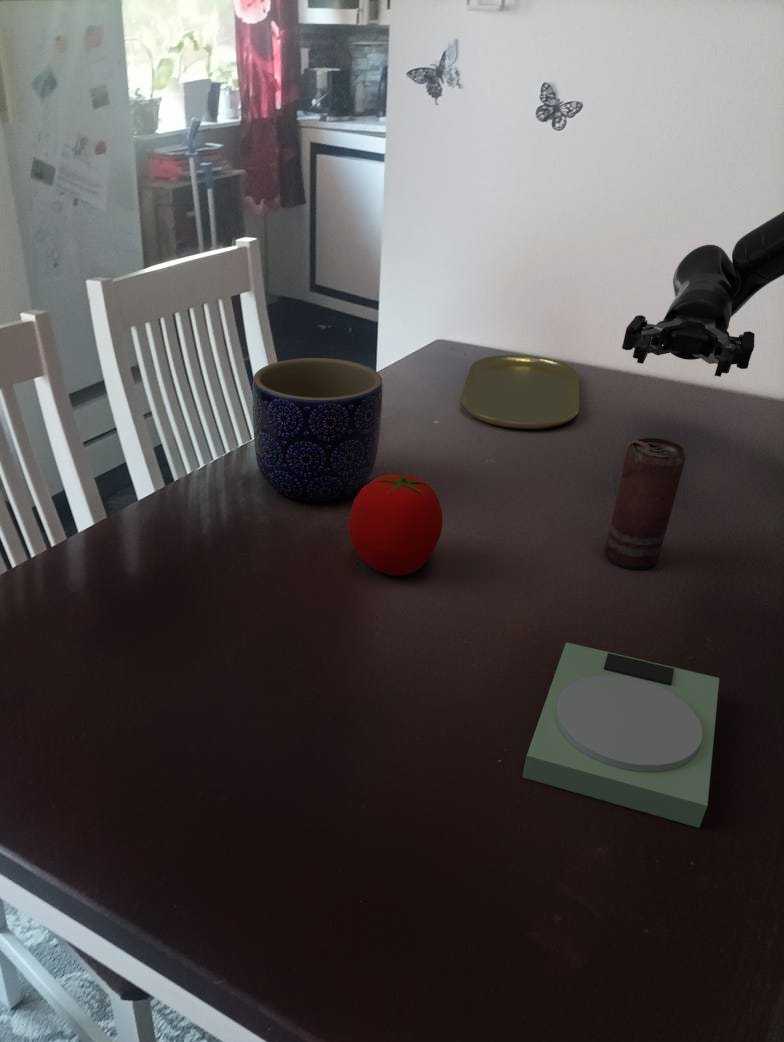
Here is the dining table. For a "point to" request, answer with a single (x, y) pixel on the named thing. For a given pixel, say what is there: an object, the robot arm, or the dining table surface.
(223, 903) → the dining table surface
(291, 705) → the dining table surface
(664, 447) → the can
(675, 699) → the scale
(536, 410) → the serving platter
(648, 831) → the dining table surface
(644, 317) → the robot arm
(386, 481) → the tomato
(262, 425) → the planter
